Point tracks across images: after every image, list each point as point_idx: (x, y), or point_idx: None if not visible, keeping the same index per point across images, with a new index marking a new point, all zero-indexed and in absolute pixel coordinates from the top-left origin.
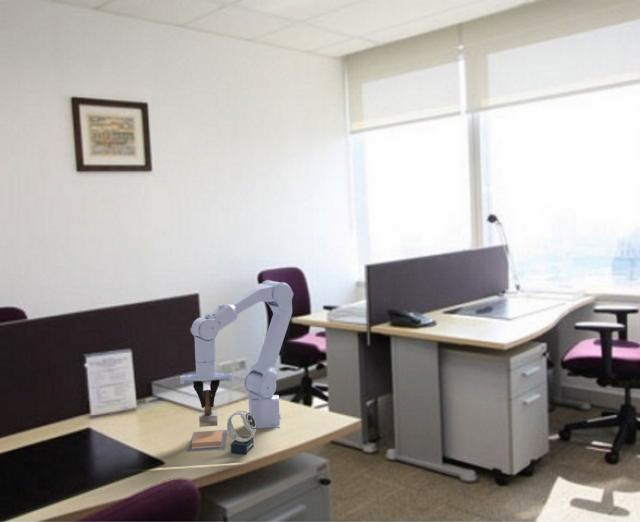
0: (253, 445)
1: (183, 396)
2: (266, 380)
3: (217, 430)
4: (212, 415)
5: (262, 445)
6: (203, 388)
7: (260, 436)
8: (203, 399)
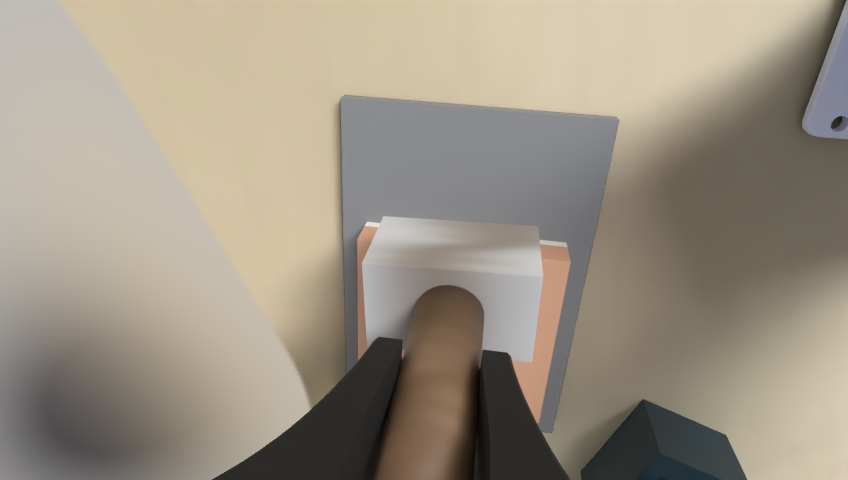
0: (731, 450)
1: None
2: None
3: (532, 118)
4: (490, 349)
5: (793, 415)
6: (340, 473)
7: (842, 281)
8: (378, 449)
